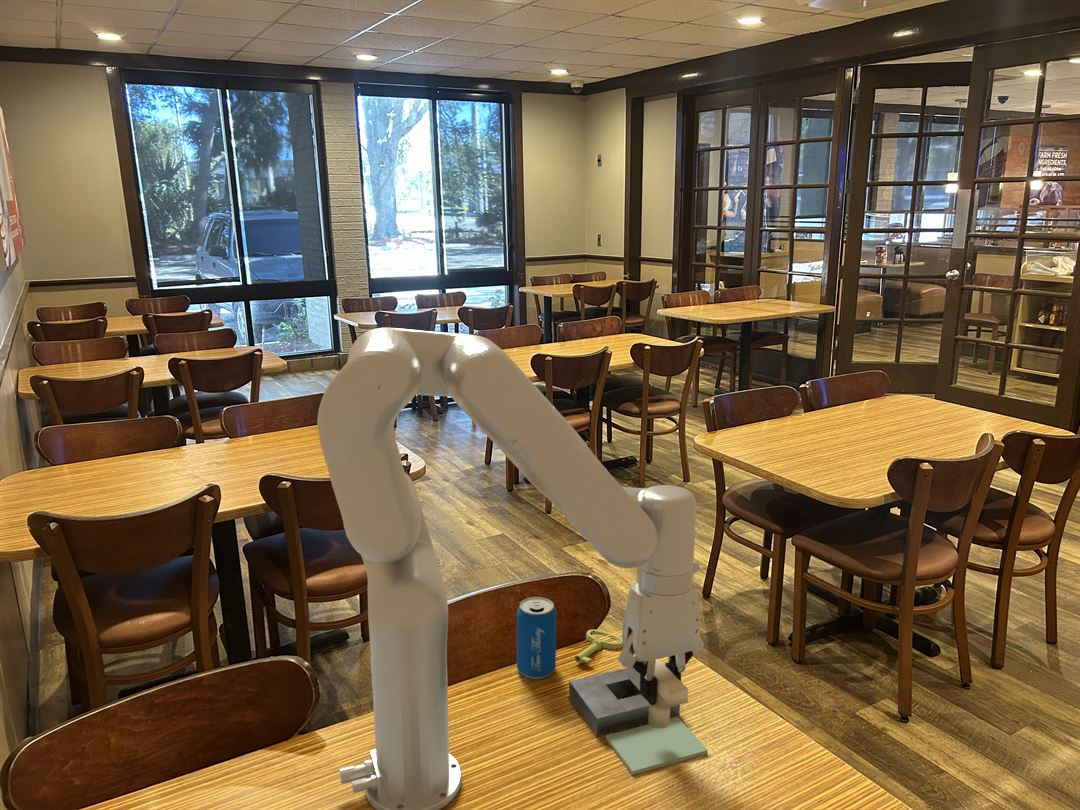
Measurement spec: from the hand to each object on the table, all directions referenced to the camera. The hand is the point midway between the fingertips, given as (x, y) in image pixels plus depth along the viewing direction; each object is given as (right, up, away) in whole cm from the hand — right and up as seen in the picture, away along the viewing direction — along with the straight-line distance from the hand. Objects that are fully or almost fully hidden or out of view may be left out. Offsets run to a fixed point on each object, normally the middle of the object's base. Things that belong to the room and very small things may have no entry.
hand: (659, 695), depth 108 cm
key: (-7, -3, +27) cm, 28 cm away
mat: (0, -8, +2) cm, 8 cm away
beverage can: (-18, -4, +20) cm, 27 cm away
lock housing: (-4, -6, +11) cm, 13 cm away
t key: (0, -4, +1) cm, 4 cm away
